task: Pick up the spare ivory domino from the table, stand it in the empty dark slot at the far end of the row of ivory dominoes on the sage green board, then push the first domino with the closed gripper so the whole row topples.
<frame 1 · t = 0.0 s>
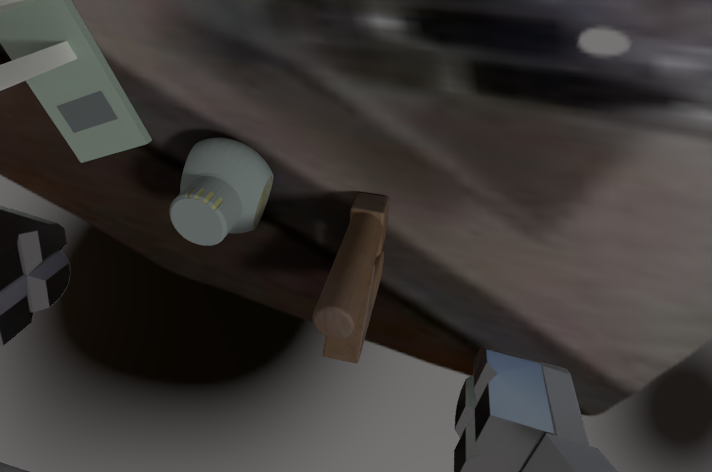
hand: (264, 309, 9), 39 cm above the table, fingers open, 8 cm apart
domino 4: (52, 57, 50), point 1 cm above the table, touching domino board
wooden block: (371, 232, 56), on the table
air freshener: (239, 173, 55), on the table
domino board: (28, 5, 49), on the table
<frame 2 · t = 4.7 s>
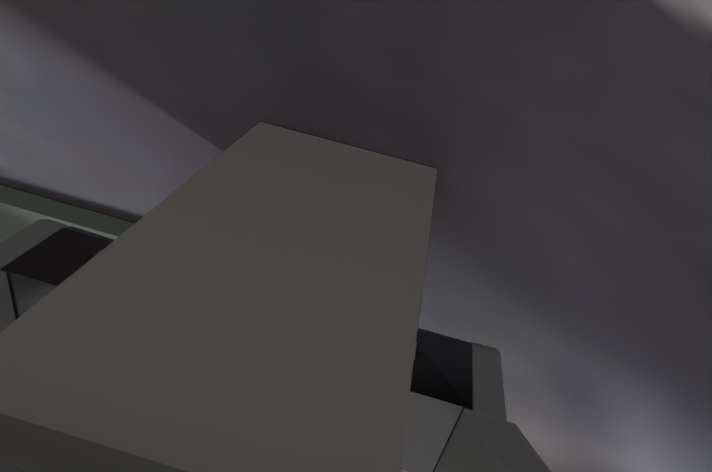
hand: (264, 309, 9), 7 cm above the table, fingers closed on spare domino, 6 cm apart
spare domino: (342, 171, 15), on the table, touching gripper
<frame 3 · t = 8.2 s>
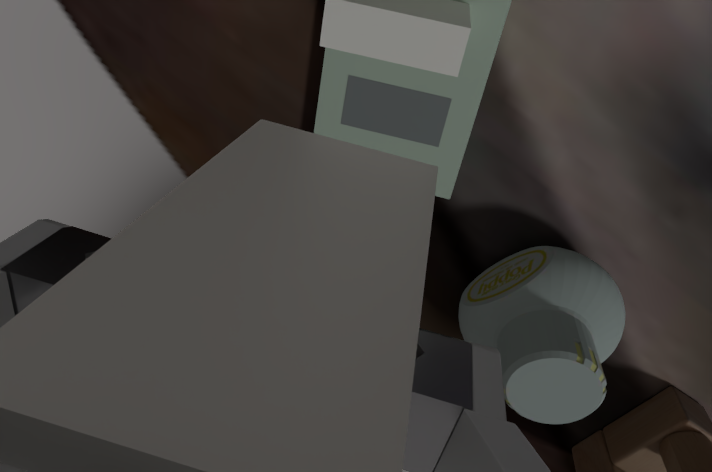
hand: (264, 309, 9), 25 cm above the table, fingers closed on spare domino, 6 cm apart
domino 4: (416, 10, 28), point 1 cm above the table, touching domino board
wooden block: (632, 425, 42), on the table
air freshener: (532, 290, 37), on the table
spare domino: (343, 169, 15), point 18 cm above the table, touching gripper
when the fingers open (9 cm above the table, at t = 12.1 s): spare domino stays where it is, resting on domino board.
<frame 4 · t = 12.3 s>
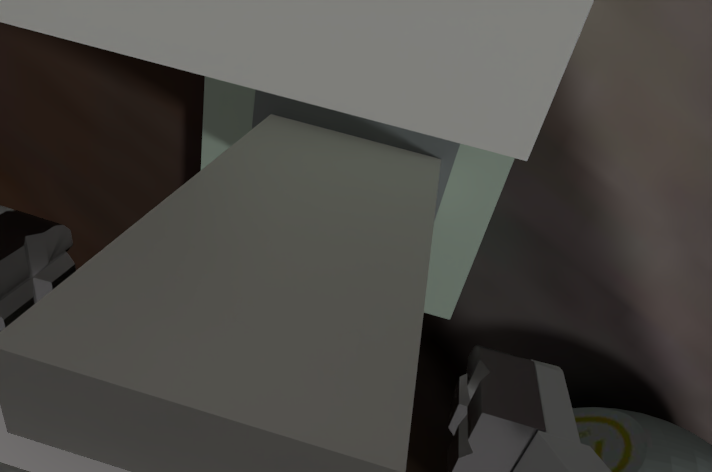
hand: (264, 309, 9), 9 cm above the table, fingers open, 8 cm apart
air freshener: (584, 456, 22), on the table
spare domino: (349, 162, 16), point 1 cm above the table, touching domino board
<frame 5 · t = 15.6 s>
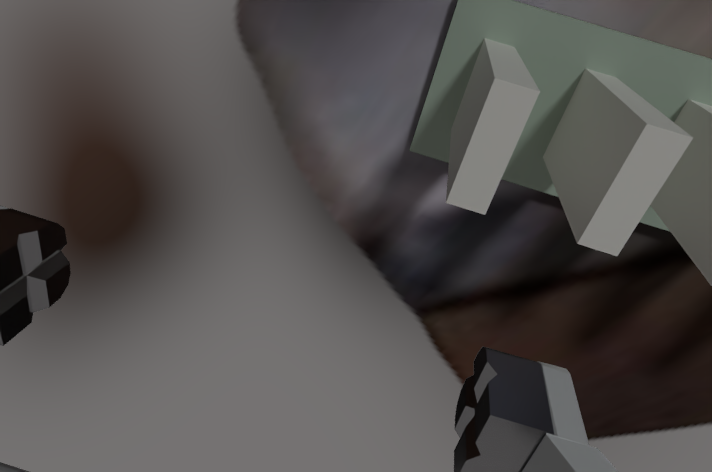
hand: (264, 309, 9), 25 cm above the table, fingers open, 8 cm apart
domino 2: (577, 119, 30), point 1 cm above the table, touching domino board
domino 3: (675, 148, 29), point 1 cm above the table, touching domino board
domino 1: (481, 90, 30), point 1 cm above the table, touching domino board
domino board: (685, 148, 30), on the table
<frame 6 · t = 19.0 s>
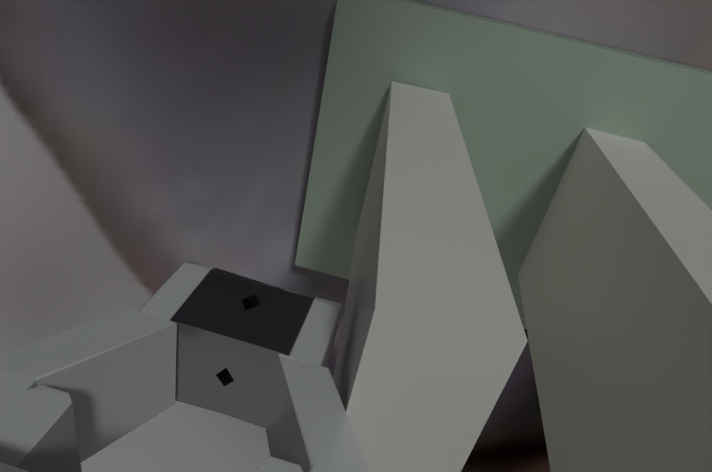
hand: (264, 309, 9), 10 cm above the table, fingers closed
domino 2: (575, 214, 16), point 1 cm above the table, touching domino board
domino 1: (398, 170, 17), point 1 cm above the table, tilted 6°, touching domino board
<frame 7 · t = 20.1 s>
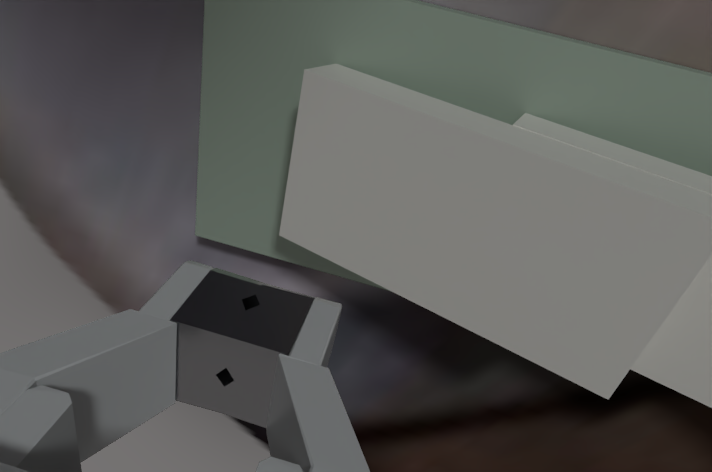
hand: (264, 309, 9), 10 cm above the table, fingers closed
domino 2: (486, 202, 16), point 2 cm above the table, tilted 73°, touching domino 1, domino 3, domino board
domino 1: (306, 153, 16), point 2 cm above the table, tilted 73°, touching domino 2, domino board
domino board: (651, 225, 17), on the table
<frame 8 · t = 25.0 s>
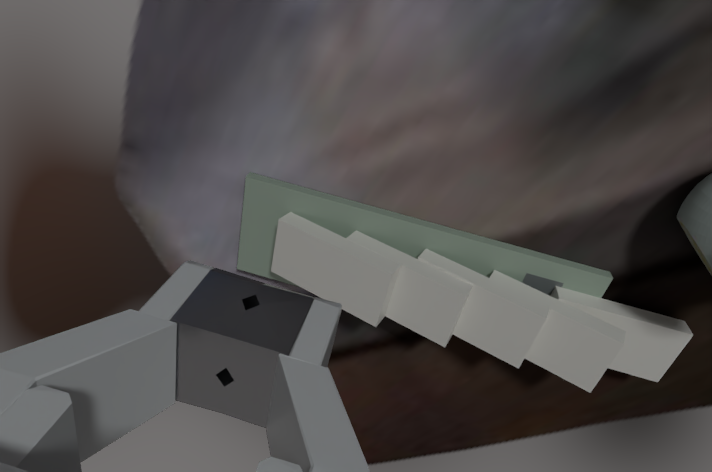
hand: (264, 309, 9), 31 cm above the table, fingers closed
domino 4: (480, 299, 43), point 2 cm above the table, tilted 71°, touching domino 3, domino board, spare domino
domino 2: (344, 260, 44), point 2 cm above the table, tilted 73°, touching domino 1, domino 3, domino board
domino 3: (413, 278, 43), point 2 cm above the table, tilted 72°, touching domino 2, domino 4, domino board
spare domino: (544, 316, 43), point 2 cm above the table, tilted 90°, touching domino 4, domino board
domino 1: (280, 241, 44), point 2 cm above the table, tilted 73°, touching domino 2, domino board
domino board: (410, 267, 45), on the table
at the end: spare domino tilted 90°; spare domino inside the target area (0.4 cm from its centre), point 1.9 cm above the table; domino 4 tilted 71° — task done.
